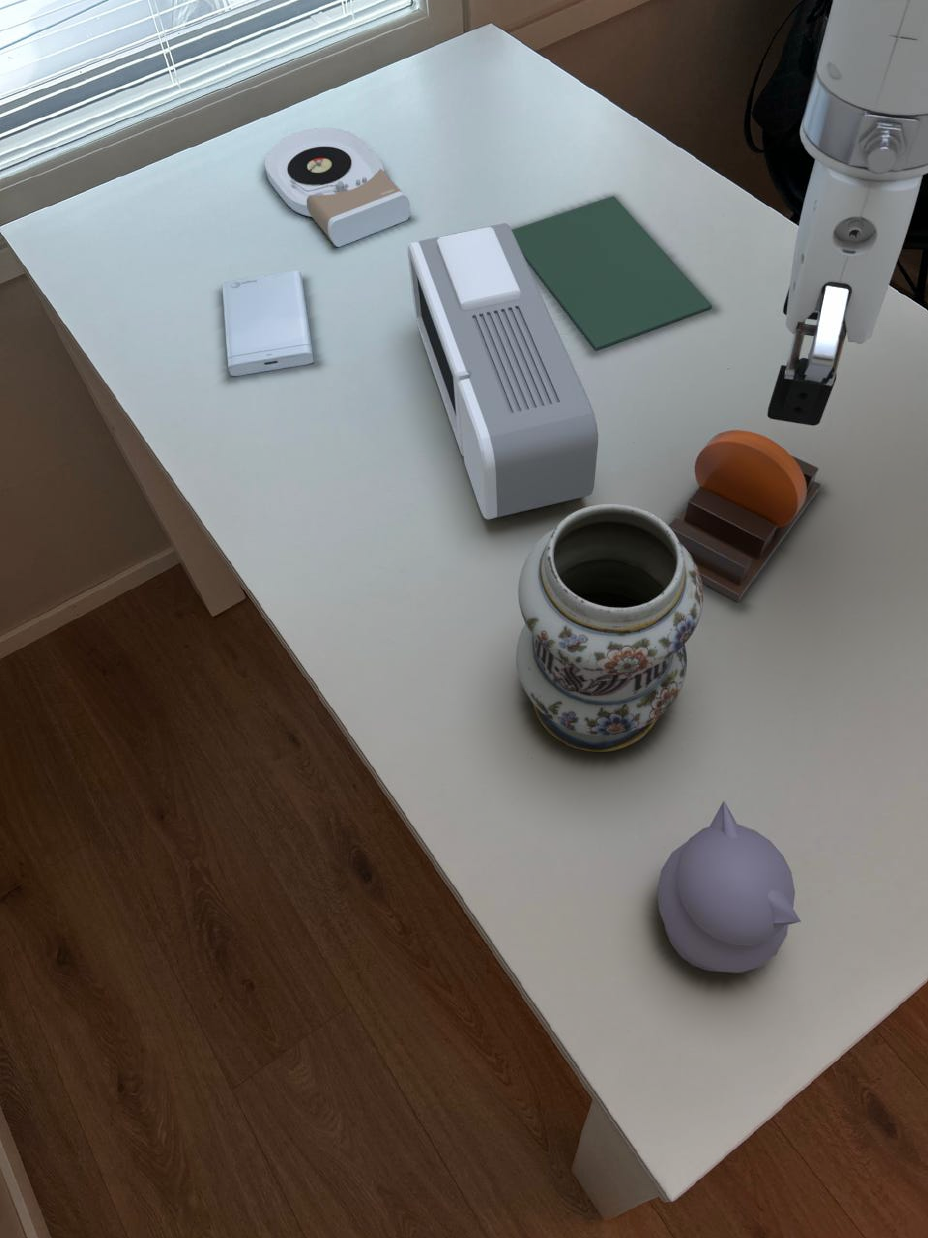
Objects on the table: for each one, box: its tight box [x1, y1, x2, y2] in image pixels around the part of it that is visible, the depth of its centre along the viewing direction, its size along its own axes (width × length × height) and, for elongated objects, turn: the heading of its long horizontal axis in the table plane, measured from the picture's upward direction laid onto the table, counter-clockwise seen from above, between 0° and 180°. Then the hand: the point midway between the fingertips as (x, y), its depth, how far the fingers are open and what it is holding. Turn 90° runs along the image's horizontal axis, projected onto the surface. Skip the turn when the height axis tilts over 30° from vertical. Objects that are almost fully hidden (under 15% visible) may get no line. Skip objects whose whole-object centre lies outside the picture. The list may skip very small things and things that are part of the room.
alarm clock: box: [406, 222, 599, 520], centre depth 85 cm, size 27×9×12 cm, turn 14°
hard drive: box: [221, 270, 315, 377], centre depth 97 cm, size 2×8×12 cm
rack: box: [668, 454, 821, 603], centre depth 80 cm, size 14×8×4 cm, turn 143°
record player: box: [264, 127, 411, 248], centre depth 108 cm, size 12×3×20 cm
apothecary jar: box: [515, 503, 704, 753], centre depth 66 cm, size 12×12×18 cm
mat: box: [511, 195, 713, 351], centre depth 99 cm, size 20×13×1 cm, turn 24°
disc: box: [694, 429, 807, 529], centre depth 77 cm, size 2×9×9 cm, turn 53°
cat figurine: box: [657, 800, 802, 974], centre depth 59 cm, size 8×8×12 cm
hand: (799, 365), depth 63 cm, fingers open, 9 cm apart
